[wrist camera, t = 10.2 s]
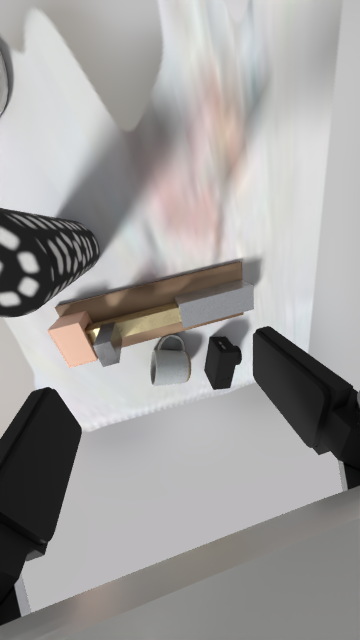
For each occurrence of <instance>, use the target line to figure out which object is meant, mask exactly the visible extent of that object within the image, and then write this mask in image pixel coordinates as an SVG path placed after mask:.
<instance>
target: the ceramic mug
mask: <svg viewBox="0 0 360 640" xmlns="http://www.w3.org/2000/svg"><path fill="white" fill-rule="evenodd" d="M168 337H171V338H175V339H176V340H177V339H178V340H180V342H181V347H182V348H181V351H173V350H161V346H162V344H163V342H164V341H165V340H166V339H167V338H168ZM184 350H185V345H184V342H183V340H182V339H181V338H180V337H179V336H177V335H173V334H170V335H166V336H164V337H163V338H162V339H161V341H160V343H159V346H158V349H154V350H153V352H152V356H151V370H150V372H151V381H152V385H154V386H158V385H169V384H181V383H185V382H187V381H188V380H189V378H190V375H191V361H190V357H189V355H188V354H187V353H186V352H184Z"/></svg>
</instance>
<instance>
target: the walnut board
mask: <svg viewBox="0 0 360 640" xmlns="http://www.w3.org/2000/svg"><path fill="white" fill-rule="evenodd" d="M240 279H241V280H242V262H235V263H231V264H227V265H223V266H219V267H214V268H210V269H206V270H202V271H198V272H194V273H190V274H185V275H181V276H177V277H173V278H169V279H165V280H161V281H157V282H152V283H148V284H144V285H140V286H136V287H132V288H128V289H124V290H119V291H115V292H111V293H107V294H103V295H99V296H95V297H91V298H86V299H82V300H78V301H74V302H70V303H66V304H62V305H57V306H56V307H55V309H56V311H57V313H58V315H59V317H62V316H66V315H70V314H74V313H78V312H82V311H87V313H88V315H89V317H90V319H91V321H92V323H97V322H101V321H104V320H108V319H112V318H116V317H120V316H124V315H128V314H132V313H136V312H140V311H144V310H147V309H151V308H155V307H159V306H163V305H167V304H171V303H175V299H174V296H176V295H180V294H184V293H188V292H192V291H196V290H200V289H204V288H208V287H212V286H216V285H220V284H224V283H228V282H232V281H236V280H240ZM240 315H243V312H242V313H238V314H234V315H231V316H227V317H223V318H219V319H216V320H212V321H208V322H205V323H201V324H197V325H194V326H190V327H186V328H183V326H182V324H181V322H178V323H174V324H170V325H167V326H163V327H159V328H155V329H152V330H148V331H144V332H140V333H137V334H133V335H129V336H125V337H122V346H121V348H122V347H126V346H129V345H133V344H137V343H140V342H144V341H148V340H151V339H155V338H159V337H163V336H166V335H170V334H174V333H177V332H181V331H185V330H188V329H192V328H196V327H199V326H203V325H207V324H210V323H214V322H218V321H221V320H225V319H229V318H232V317H236V316H240Z"/></svg>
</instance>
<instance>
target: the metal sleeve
mask: <svg viewBox="0 0 360 640" xmlns="http://www.w3.org/2000/svg"><path fill="white" fill-rule="evenodd" d="M174 299H175V302H176V303H177V305H178V306H179V311H180V316H181V321H182V322H181V324H182V326H183V328H186V327H190V326H194V325H197V324H201V323H205V322H208V321H212V320H216V319H219V318H223V317H227V316H231V315H234V314H238V313H242V312H245V311H249V310H253V309H254V298H253V285H252V284H249V283H247V282H245V281H243V280H241V279H240V280H236V281H232V282H228V283H224V284H220V285H216V286H212V287H208V288H204V289H200V290H196V291H192V292H188V293H184V294H180V295H176V296H174Z"/></svg>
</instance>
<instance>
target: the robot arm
mask: <svg viewBox="0 0 360 640" xmlns="http://www.w3.org/2000/svg"><path fill="white" fill-rule="evenodd" d="M7 94H8V77H7V72H6V67H5V62H4V59H3V57H2V54H1V51H0V115H1V113H2V112H3V110H4V107H5V104H6V101H7ZM253 376H254V379H255V381H256V382H257V383H258V385H259V386H260V387H261V388H262V390H263V391H264V392H265V393H266V395H267V396H268V397H269V399H270V400H271V401H272V402H273V404H274V405H275V406H276V407H277V409H278V410H279V411H280V413H281V414H282V415H283V416H284V418H285V419H286V420H287V421H288V423H289V424H290V425H291V426H292V428H293V429H294V430H295V431H296V433H297V434H298V435H299V436H300V437H301V439H302V440H303V442H304V443H305V444H306V445H307V446H308V447H310V448H313V449H314V450H315V451H316V452H317V453H318V455H320V454H323V453H326V452H329V451H331V452H332V453H333V455H334V456H335V457H336V458H337V459H338V463H339V470H340V476H341V483H342V489H343V492H341V493H338V494H335V495H333V496H330V497H327V498H324V499H322V500H319V501H317V502H314V503H311V504H308V505H306V506H303V507H301V508H298V509H295V510H293V511H290V512H288V513H285V514H282V515H280V516H277V517H275V518H272V519H269V520H267V521H264V522H262V523H259V524H256V525H254V526H251V527H249V528H246V529H244V530H241V531H239V532H236V533H233V534H231V535H228V536H225V537H223V538H220V539H218V540H215V541H213V542H210V543H208V544H205V545H203V546H200V547H197V548H195V549H192V550H190V551H187V552H185V553H182V554H179V555H177V556H174V557H172V558H169V559H167V560H164V561H162V562H159V563H156V564H154V565H151V566H149V567H146V568H144V569H141V570H139V571H136V572H133V573H131V574H128V575H126V576H123V577H121V578H118V579H116V580H113V581H111V582H108V583H106V584H103V585H101V586H98V587H96V588H93V589H91V590H88V591H86V592H83V593H81V594H78V595H76V596H73V597H71V598H68V599H66V600H63V601H60V602H58V603H55V604H53V605H50V606H48V607H45V608H43V609H41V610H38V611H35V612H33V613H31V609H30V606H29V602H28V598H27V594H26V590H25V586H24V582H23V579H22V575H21V571H22V568H23V565H24V563H25V561H29V560H32V559H35V558H38V557H41V556H43V555H45V551H46V548H47V544H48V542H49V541H50V540H51V539H52V537H53V535H54V532H55V528H56V525H57V521H58V518H59V514H60V510H61V507H62V503H63V500H64V496H65V492H66V488H67V485H68V481H69V478H70V474H71V470H72V467H73V463H74V460H75V456H76V452H77V449H78V445H79V442H80V438H81V434H82V429H81V426H80V425H79V423H78V422H77V420H76V419H75V417H74V416H73V414H72V413H71V411H70V410H69V409H68V407H67V406H66V404H65V403H64V401H63V400H62V398H61V397H60V395H59V394H58V393H57V391H56V390H55V389H51V388H50V387H46V388H42V389H39V390H35V391H33V392H31V394H30V395H29V396H28V398H27V399H26V401H25V403H24V404H23V406H22V407H21V409H20V410H19V412H18V413H17V415H16V416H15V418H14V419H13V421H12V422H11V424H10V425H9V427H8V428H7V430H6V431H5V433H4V434H3V436H2V437H1V439H0V640H360V391H359V392H357V391H356V390H354V389H353V386H352V385H351V384H349V383H348V382H346V381H345V380H344V379H342V378H341V377H340V376H338V375H337V374H335V373H334V372H333V371H331V370H330V369H328V368H327V367H326V366H324V365H323V364H321V363H320V362H319V361H317V360H316V359H314V358H313V357H312V356H310V355H309V354H307V353H306V352H305V351H303V350H302V349H301V348H299V347H298V346H296V345H295V344H294V343H292V342H291V341H289V340H288V339H287V338H285V337H284V336H282V335H281V334H280V333H278V332H277V331H275V330H274V329H273V328H271V327H269V326H267V327H263V328H259V329H257V330H256V332H255V333H254V334H253Z"/></svg>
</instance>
